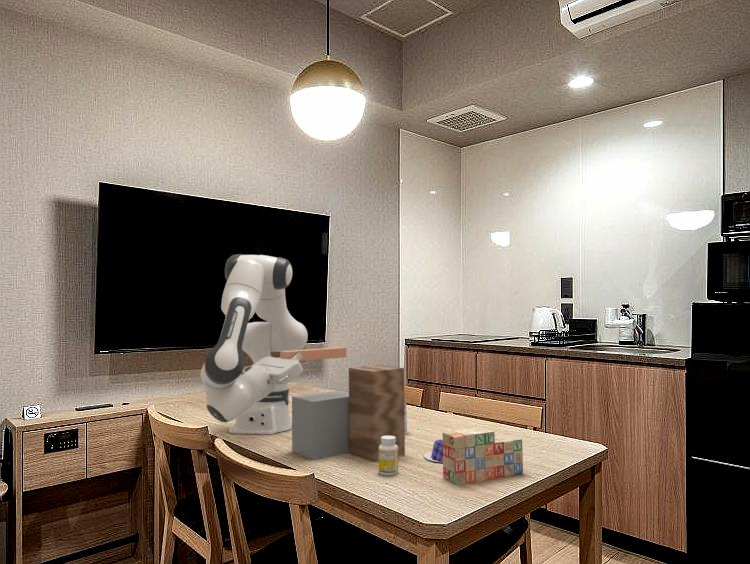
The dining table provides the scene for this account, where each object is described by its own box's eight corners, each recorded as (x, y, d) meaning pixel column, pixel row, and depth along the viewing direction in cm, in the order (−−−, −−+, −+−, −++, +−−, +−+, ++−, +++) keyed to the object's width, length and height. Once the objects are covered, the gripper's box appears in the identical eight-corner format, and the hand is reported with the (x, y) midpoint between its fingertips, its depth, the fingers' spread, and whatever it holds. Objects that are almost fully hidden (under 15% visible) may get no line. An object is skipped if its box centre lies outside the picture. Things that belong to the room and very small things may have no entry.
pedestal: (312, 459, 166) (312, 401, 167) (292, 451, 176) (291, 396, 176) (361, 449, 177) (361, 394, 178) (339, 442, 187) (339, 390, 187)
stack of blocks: (509, 467, 157) (508, 423, 158) (523, 474, 152) (522, 427, 152) (442, 478, 149) (441, 431, 149) (455, 485, 143) (454, 436, 143)
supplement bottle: (390, 477, 149) (389, 440, 150) (374, 473, 153) (374, 437, 153) (402, 472, 154) (402, 436, 154) (387, 468, 157) (386, 433, 157)
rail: (285, 362, 166) (285, 351, 167) (280, 361, 169) (280, 351, 169) (346, 357, 180) (346, 347, 180) (341, 356, 182) (340, 347, 183)
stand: (373, 461, 164) (372, 371, 164) (349, 453, 173) (348, 367, 174) (404, 454, 171) (403, 368, 172) (379, 446, 181) (379, 364, 181)
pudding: (469, 464, 161) (469, 446, 162) (427, 465, 161) (427, 446, 161) (460, 453, 173) (460, 435, 174) (421, 453, 173) (421, 436, 173)
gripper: (272, 375, 154) (310, 347, 162) (240, 368, 170) (276, 343, 178) (283, 394, 156) (319, 365, 163) (250, 386, 172) (285, 360, 179)
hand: (296, 354), depth 171 cm, fingers closed on rail, 3 cm apart
